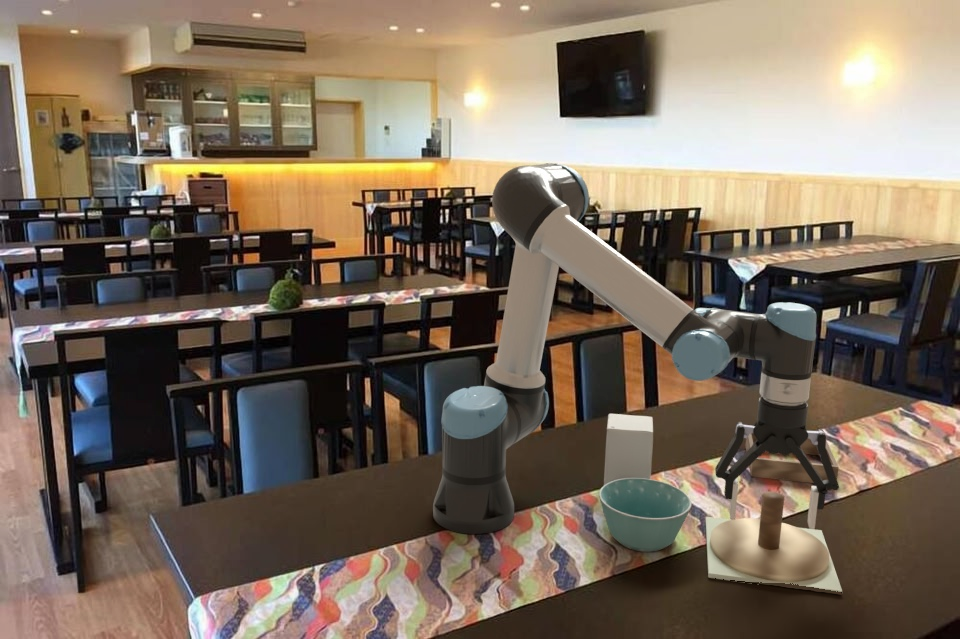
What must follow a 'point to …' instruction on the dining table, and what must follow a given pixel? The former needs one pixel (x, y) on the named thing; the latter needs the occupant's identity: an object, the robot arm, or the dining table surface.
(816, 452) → the holder corral
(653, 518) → the bowl
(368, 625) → the dining table surface
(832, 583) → the mat
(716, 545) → the lid
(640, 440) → the supplement box
